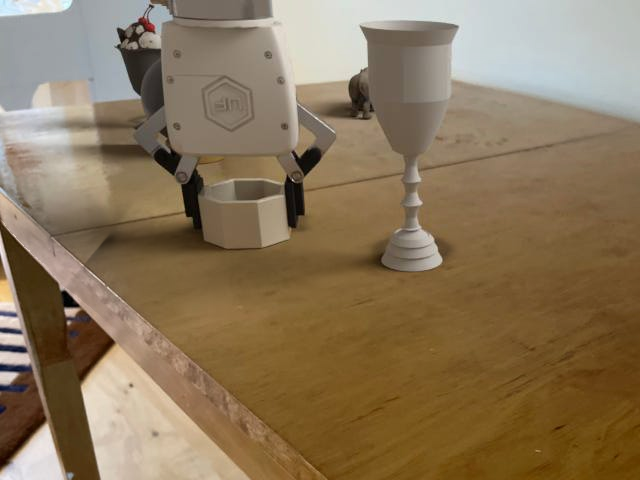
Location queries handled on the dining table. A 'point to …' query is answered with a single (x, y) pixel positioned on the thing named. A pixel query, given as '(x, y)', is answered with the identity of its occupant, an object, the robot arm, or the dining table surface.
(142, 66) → the sundae
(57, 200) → the dining table surface
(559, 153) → the dining table surface
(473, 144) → the dining table surface
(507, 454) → the dining table surface
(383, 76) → the chalice
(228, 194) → the ring
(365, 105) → the rhino figurine
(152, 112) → the ball
